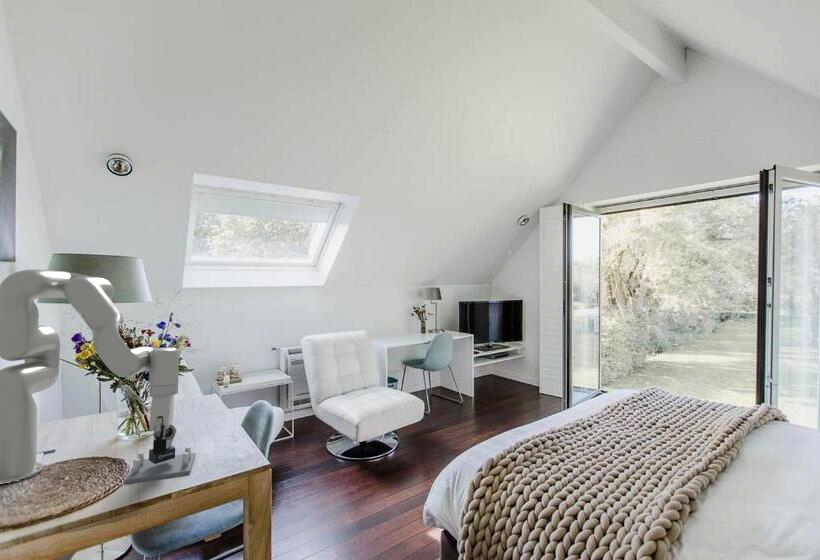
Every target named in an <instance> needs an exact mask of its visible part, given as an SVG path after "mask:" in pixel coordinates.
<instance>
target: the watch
mask: <svg viewBox="0 0 820 560" xmlns="http://www.w3.org/2000/svg"><path fill="white" fill-rule="evenodd" d="M161 428H164V427H161ZM177 431H178V429H177V428H176V427H175V426H174V425H173V424H172V423H171V424H170V427H169V428H168V429H167V430H166V436H165V439H166V452H165V453H160V454H153V448H150V449H149V450H148V459H149V461H151V462H152V463H154V464H157V463H160V462H164V461H167V460H170V459H173V458H175V455H176V447H175V446H173V445H172V443H173V442H174V439H175V436H176V433H177ZM161 432H162V433H163V431H161ZM154 433H155V429H154V430H153V436H152V437H153V438H154Z"/></svg>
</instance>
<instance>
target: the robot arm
mask: <svg viewBox="0 0 820 560" xmlns="http://www.w3.org/2000/svg"><path fill="white" fill-rule="evenodd" d="M114 295H115V287H114V286H113V284H112V282H110V280H107V279H105V278H103V277H99V276H91V275H87V274H86V275H85V274H82V273H76V272H69V271H65V270H64V271H62V270H51V269H49V270H48V269H39V268H38V269H25V270H24V269H23V270H19V271H16V272H13V273H11V274H9V275H8V276H7V277H5V278H4V279H3V280H2V282H1V283H0V358H1V359H2V360H5V361H7V362H17V361H23V360H24V362H23V363H19V364H13V365H10V366H6V367H4V368H1V369H0V482H9V481H15V480H20V479H24V478H27V477H29V476H32V475H34V474H36V473H38V472H40V471H41V470H42V469H43V470H44V464H43V463H41V462H37V452H38V451H37V446H38V445H37V444H38V443H37V442H38V407H37V403H36V402H35V400H34V398H33V394H36V393H40V392H42V391H45V390H47V389H49V388H51V387H52V386H53V385H55V383H56V382H57V380H58V378H59V373H60V361H61V360H60V358H61V357H60V356H61V340H60V336H59V334H58V332H57V331H56V330H55V329H54V328H52V327H50V326H47V325H44V324H43V325H42V324H40V325H39V319H40V318H39V317H40V312H39V309H38V306H37V304H36V302H35V300H37V299H38V300H39V299H65V300H67V301H68V303H69V304H70V305H71V306H72V308H73V309H74V310H75V311H76V312H77V314H78V315H79V316H80V317H81V319H82V321H83V322H84V323H85V324H86V325H87V327H89V329H90V331H91V333H92V341H93V345H94V349H95V352H96V354H97V355H98V358H100V360H101V361H102V362H103V363H104V365H105V366H106V367H107V368H108V369H109V371H111V373H113V374H114V375H117V376H119V377H121V378H127V377H129V378H130V377H132V376H135V375H137V374H139V373H143V372H146V371H149V381H148V382H149V384H148V388H149V389H148V396H149V397H150V398H151V403H150V415H149V426H148V427H149V432H153V433H154V429H155V433H154V437H153V441H152V442H153V446H152V449H153V454H160V453H165V452H166V439H165V436H166V430H167V429H168V428H169V427H170V424H171V425H172V424H173V420H174V413H175V411H174V410H175V407H174V406H175V405H174V404H175V395H177V394H179V374H180V373H179V370H180V369H179V367H180V365H179V363H180V361H179V360H180V353H179V352H180V351H179V350H178V349H177V348H176V347H153V346H151V347H150V346H137V347H134V348H130V347H129V346H128V345H127V344H126V343H125V341H124V340H123V338H122V337H121V334H120V331H119V326H120V323H121V321H122V319H123V314H122V313H121V311H120V309H118V307H117V306H116V305H115V303H113V301H112V299H113V297H114ZM161 427H164V428H161ZM161 431H163V433H162V432H161ZM43 470H42V471H43ZM42 471H41V472H42ZM41 472H40V473H41ZM38 474H39V473H38ZM36 475H37V474H36ZM34 476H35V475H34ZM32 477H33V476H32ZM27 479H28V478H27ZM24 480H25V479H24Z"/></svg>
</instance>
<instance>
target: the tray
mask: <svg viewBox="0 0 820 560" xmlns="http://www.w3.org/2000/svg"><path fill="white" fill-rule="evenodd" d="M191 447H192V446H186V447H185V448H184V452H183V453H182V454H175V458H173V459H170V460H167V461H164V462H160V463H157V464H154V463H152V462H151V461H149V458H145V459H144V457H145V452H142V451H140V452H138V453H137V454H136V456H137V458H134V459H133V460H132V468H131V469H130V471H129V473H128V474H127V476H126V477H125V479H124V484H128V483H129V484H130V483H137V482H144V481H145V482H146V481H151V480H157V479H165V478H166V479H167V478H173V477H178V476H180V477H181V476H184V475H186V476H187V475H190V474H191V471H192V468H193V465H194V462H195V458H196V452H192V451H191V450H192V448H191Z"/></svg>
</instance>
